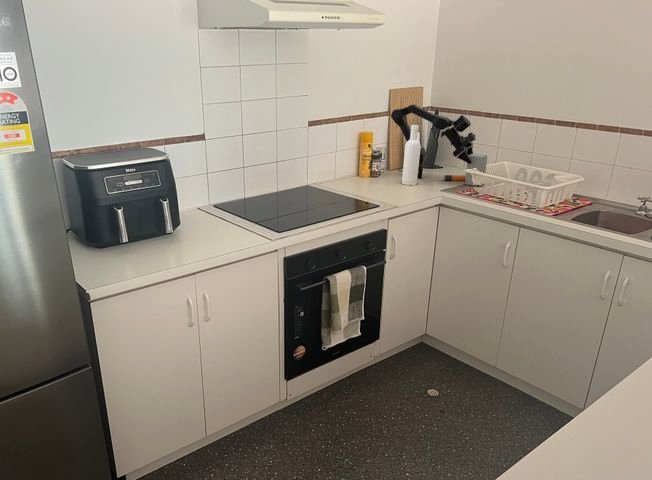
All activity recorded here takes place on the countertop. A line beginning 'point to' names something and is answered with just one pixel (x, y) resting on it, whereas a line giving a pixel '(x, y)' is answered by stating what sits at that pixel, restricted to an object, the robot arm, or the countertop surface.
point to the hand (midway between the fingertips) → (473, 161)
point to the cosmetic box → (475, 166)
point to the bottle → (411, 158)
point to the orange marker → (454, 178)
